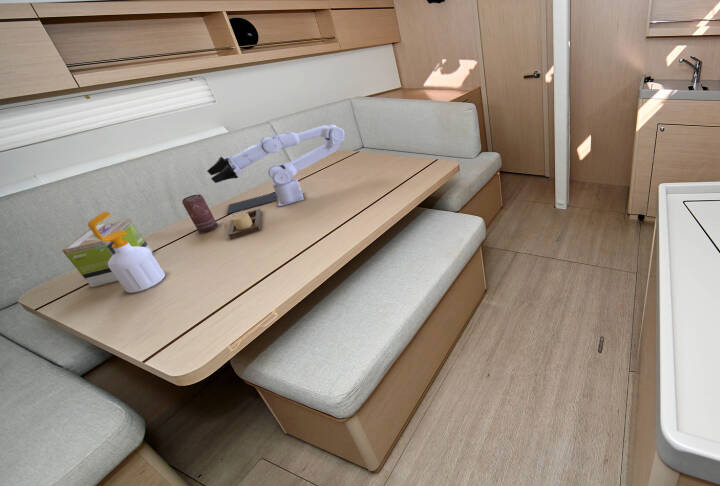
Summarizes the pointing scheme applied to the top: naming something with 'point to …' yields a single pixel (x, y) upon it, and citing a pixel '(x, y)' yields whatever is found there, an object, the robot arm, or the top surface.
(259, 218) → the holder
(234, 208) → the mat
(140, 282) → the soap bottle
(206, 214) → the can
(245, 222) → the yellow wooden cylinder
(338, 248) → the top surface
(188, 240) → the top surface
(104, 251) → the tea box
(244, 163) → the robot arm
